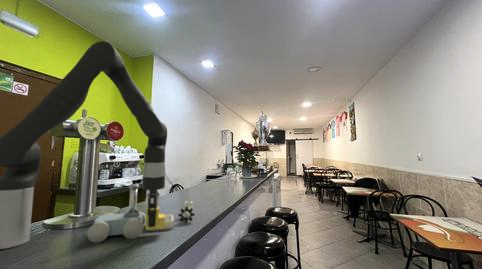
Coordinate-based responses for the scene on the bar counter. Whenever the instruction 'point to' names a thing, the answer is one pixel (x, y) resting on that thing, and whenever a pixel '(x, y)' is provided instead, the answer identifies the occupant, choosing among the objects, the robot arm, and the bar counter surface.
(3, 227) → the robot arm
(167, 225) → the tray
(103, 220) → the trolley
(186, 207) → the valve
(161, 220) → the block
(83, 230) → the bar counter surface
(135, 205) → the pin
